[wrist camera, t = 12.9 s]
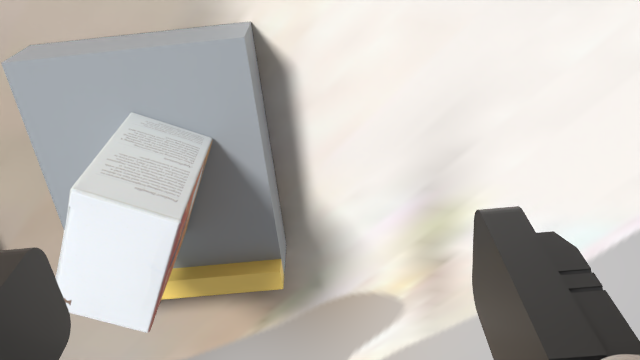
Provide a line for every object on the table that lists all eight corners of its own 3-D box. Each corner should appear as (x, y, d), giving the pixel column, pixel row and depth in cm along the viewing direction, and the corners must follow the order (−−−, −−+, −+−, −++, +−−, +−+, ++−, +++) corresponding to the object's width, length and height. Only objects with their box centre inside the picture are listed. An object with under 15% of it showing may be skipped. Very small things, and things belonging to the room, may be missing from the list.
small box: (186, 232, 41) (148, 337, 32) (107, 209, 40) (45, 311, 31) (215, 135, 38) (183, 223, 28) (130, 108, 37) (68, 189, 28)
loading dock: (29, 45, 39) (-11, 70, 34) (250, 21, 38) (241, 43, 33) (104, 261, 47) (80, 306, 42) (286, 245, 47) (283, 288, 42)
